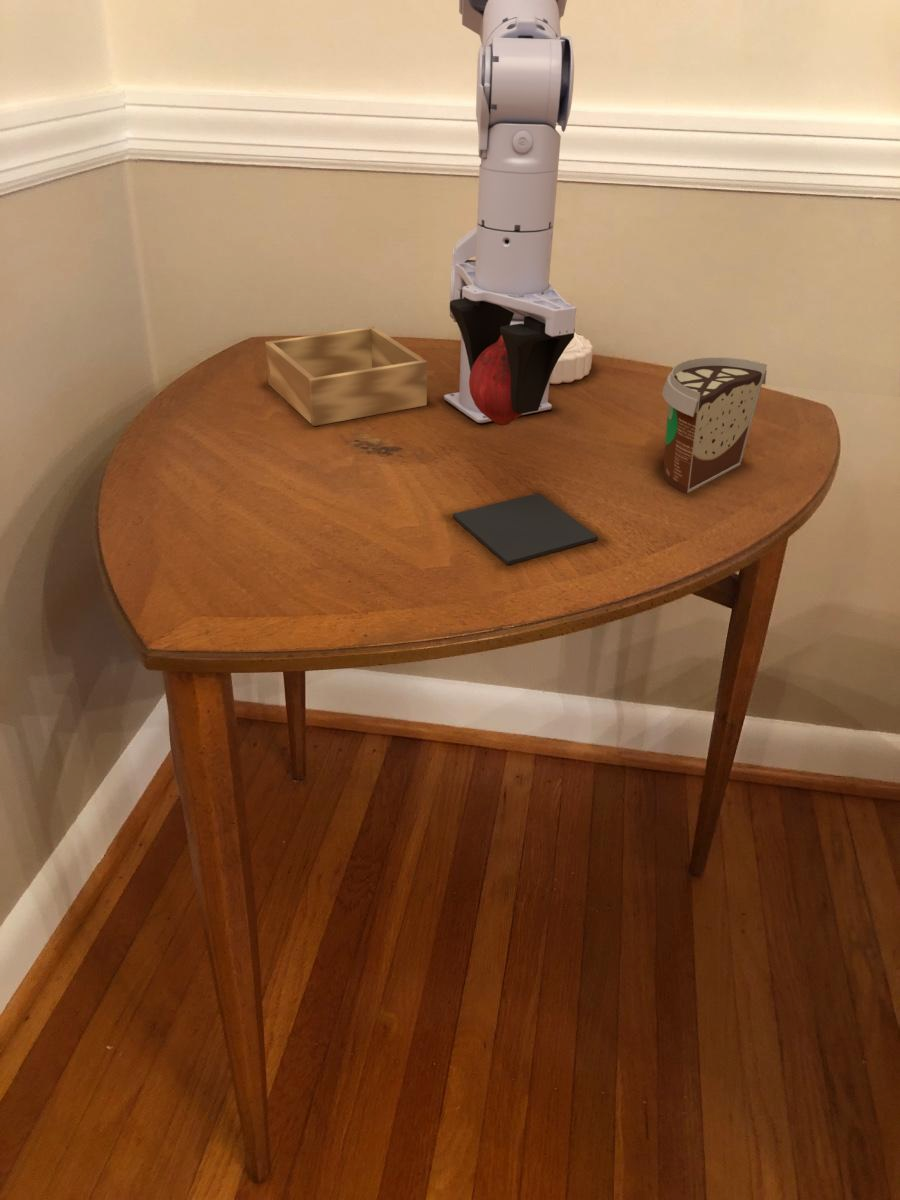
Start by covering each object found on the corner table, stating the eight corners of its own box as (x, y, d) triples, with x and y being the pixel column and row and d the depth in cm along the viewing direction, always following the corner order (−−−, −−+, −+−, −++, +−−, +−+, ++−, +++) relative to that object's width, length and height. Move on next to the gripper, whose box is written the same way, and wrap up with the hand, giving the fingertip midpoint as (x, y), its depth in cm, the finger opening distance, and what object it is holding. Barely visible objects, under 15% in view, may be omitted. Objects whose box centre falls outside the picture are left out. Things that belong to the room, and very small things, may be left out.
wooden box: (374, 367, 113) (373, 326, 111) (427, 405, 104) (427, 361, 101) (268, 384, 108) (264, 341, 105) (313, 426, 98) (310, 380, 95)
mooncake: (609, 367, 115) (613, 338, 113) (551, 393, 108) (554, 362, 106) (531, 345, 122) (533, 317, 120) (472, 367, 114) (473, 338, 112)
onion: (531, 442, 76) (539, 345, 72) (461, 434, 77) (465, 338, 73) (540, 415, 81) (548, 323, 77) (474, 408, 82) (478, 317, 77)
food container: (695, 441, 97) (713, 346, 92) (748, 460, 94) (769, 362, 88) (623, 476, 90) (638, 375, 84) (678, 498, 86) (696, 394, 81)
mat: (538, 496, 86) (538, 492, 86) (597, 540, 79) (598, 536, 79) (452, 517, 82) (452, 513, 82) (507, 565, 76) (507, 561, 75)
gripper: (422, 209, 74) (421, 376, 81) (522, 250, 63) (510, 437, 71) (499, 203, 77) (491, 365, 84) (606, 241, 66) (586, 422, 74)
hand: (504, 397), depth 78 cm, fingers closed on onion, 6 cm apart
